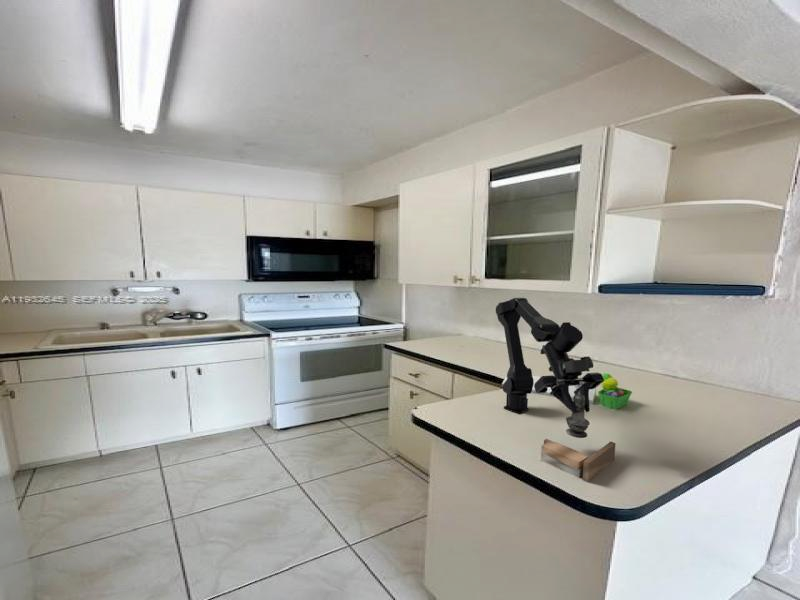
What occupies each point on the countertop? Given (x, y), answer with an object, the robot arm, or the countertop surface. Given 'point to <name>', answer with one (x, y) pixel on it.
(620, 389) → the fruit basket
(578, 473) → the grey mdf offcut
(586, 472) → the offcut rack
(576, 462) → the teak offcut
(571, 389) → the decorative molding
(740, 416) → the countertop surface
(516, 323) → the robot arm
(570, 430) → the grey rounded upright piece
